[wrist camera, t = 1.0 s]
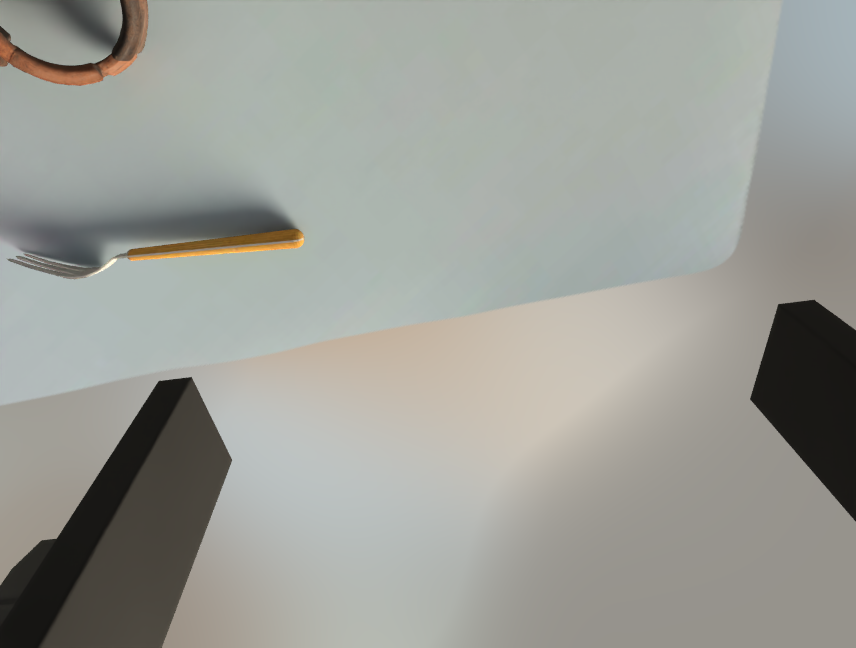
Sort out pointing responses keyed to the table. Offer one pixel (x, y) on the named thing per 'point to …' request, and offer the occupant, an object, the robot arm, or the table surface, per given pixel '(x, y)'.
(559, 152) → the table surface
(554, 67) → the table surface
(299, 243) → the fork
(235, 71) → the table surface
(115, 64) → the broken brown clay pot
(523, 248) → the table surface
